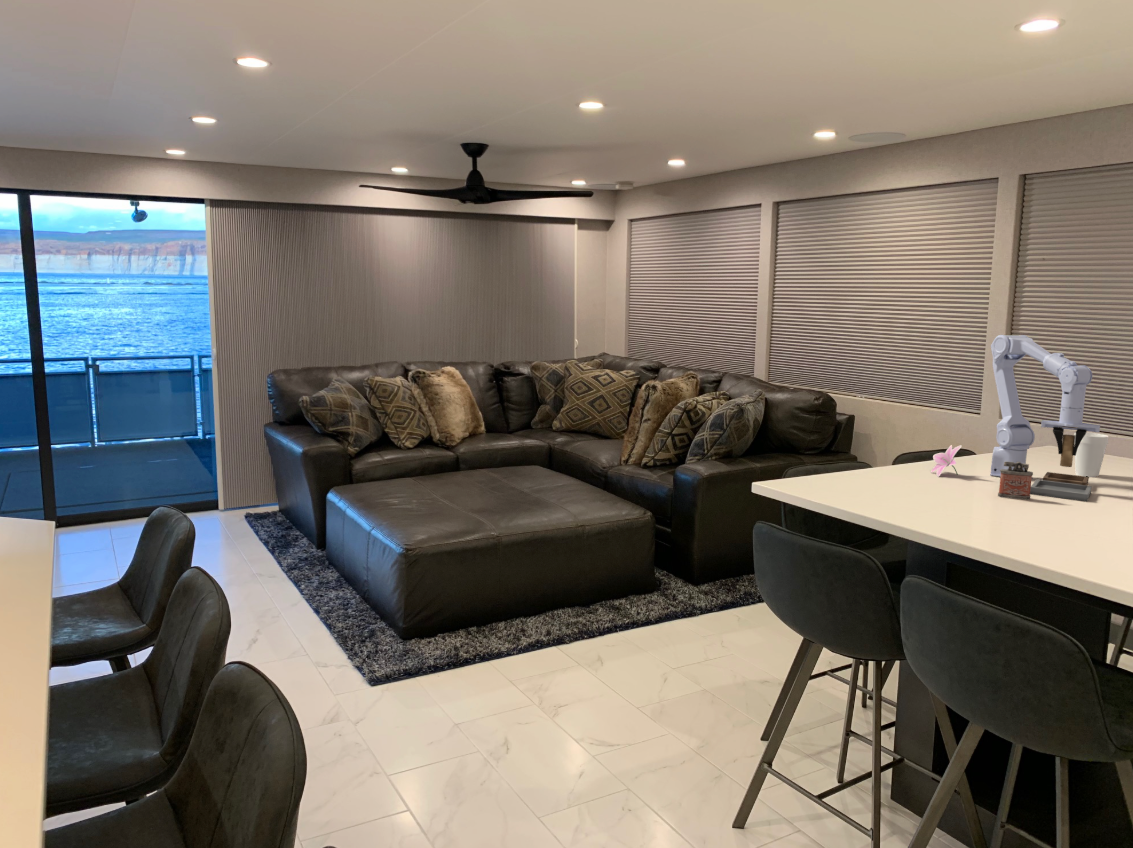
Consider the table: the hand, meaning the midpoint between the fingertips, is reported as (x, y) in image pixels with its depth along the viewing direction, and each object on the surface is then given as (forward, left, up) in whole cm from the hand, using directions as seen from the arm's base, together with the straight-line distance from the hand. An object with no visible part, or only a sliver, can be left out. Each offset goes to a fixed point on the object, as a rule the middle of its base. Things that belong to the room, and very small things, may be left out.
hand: (1067, 454), depth 249 cm
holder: (0, +8, -11) cm, 13 cm away
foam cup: (+4, +32, -11) cm, 34 cm away
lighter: (-10, -21, -11) cm, 26 cm away
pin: (0, 0, -3) cm, 3 cm away
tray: (0, -6, -11) cm, 12 cm away
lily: (-32, 0, -11) cm, 34 cm away
